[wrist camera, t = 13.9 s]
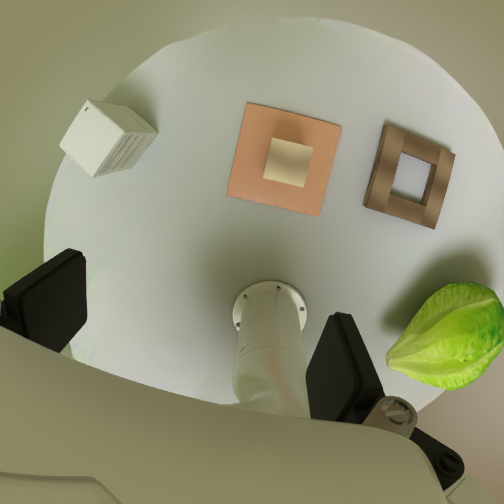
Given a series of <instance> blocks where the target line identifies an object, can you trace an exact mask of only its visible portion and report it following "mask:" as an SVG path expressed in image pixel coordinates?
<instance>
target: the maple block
mask: <svg viewBox="0 0 504 504" xmlns="http://www.w3.org/2000/svg"><path fill="white" fill-rule="evenodd" d="M312 152H313V148H312V147H309V146H305V145H301V144H297V143H293V142H289V141H285V140H281V139H276V138H272V139H271V142H270V146H269V150H268V155H267V159H266V163H265V168H264V172H263V178H265V179H270V180H274V181H278V182H282V183H287V184H291V185H295V186H299V187H303V188H304V184H305V180H306V176H307V172H308V168H309V164H310V160H311V156H312Z"/></svg>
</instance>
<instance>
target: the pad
mask: <svg viewBox="0 0 504 504" xmlns="http://www.w3.org/2000/svg"><path fill="white" fill-rule="evenodd" d="M341 128H342V127H340V126H337V125H333V124H330V123H327V122H323V121H320V120H316V119H313V118H309V117H305V116H301V115H298V114H294V113H290V112H286V111H282V110H277V109H273V108H269V107H264V106H259V105H255V104H250V103H247V106H246V110H245V114H244V119H243V123H242V127H241V131H240V136H239V140H238V144H237V149H236V153H235V158H234V162H233V167H232V171H231V176H230V181H229V185H228V190H227V195H228V196H232V197H237V198H241V199H246V200H250V201H254V202H259V203H263V204H267V205H272V206H276V207H280V208H284V209H288V210H292V211H296V212H300V213H304V214H308V215H312V216H316V217H318V216H319V212H320V209H321V205H322V202H323V198H324V194H325V191H326V187H327V183H328V179H329V176H330V172H331V168H332V164H333V160H334V156H335V152H336V148H337V144H338V140H339V136H340V132H341ZM272 138H276V139H281V140H285V141H289V142H293V143H297V144H301V145H305V146H309V147H312V148H313V152H312V156H311V160H310V164H309V168H308V172H307V176H306V180H305V184H304V188H303V187H299V186H295V185H291V184H287V183H282V182H278V181H274V180H270V179H265V178H263V172H264V168H265V163H266V159H267V155H268V150H269V146H270V142H271V139H272Z"/></svg>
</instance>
